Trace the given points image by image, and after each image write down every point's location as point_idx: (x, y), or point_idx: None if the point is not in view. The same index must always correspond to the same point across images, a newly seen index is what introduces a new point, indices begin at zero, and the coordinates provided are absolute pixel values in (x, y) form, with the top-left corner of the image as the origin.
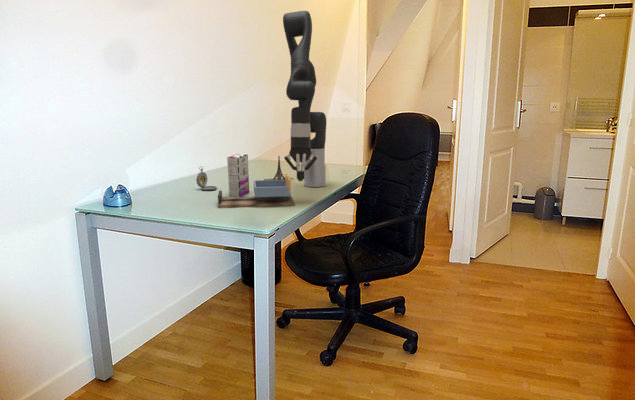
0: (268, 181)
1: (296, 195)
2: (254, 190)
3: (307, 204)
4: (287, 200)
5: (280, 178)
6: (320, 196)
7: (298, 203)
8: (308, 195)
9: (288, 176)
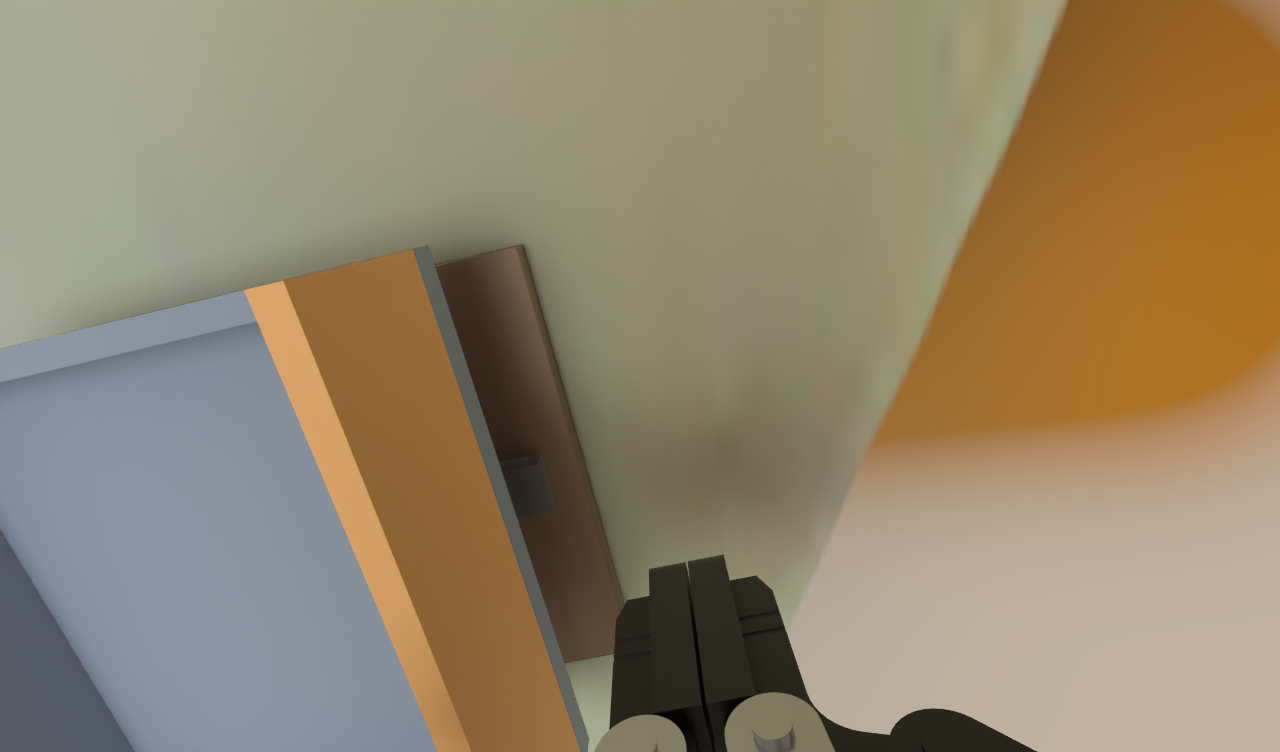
0: (31, 371)
1: (581, 83)
2: (65, 702)
3: (763, 580)
4: (533, 557)
5: None
6: (939, 127)
7: (661, 545)
8: (761, 66)
9: (438, 676)
